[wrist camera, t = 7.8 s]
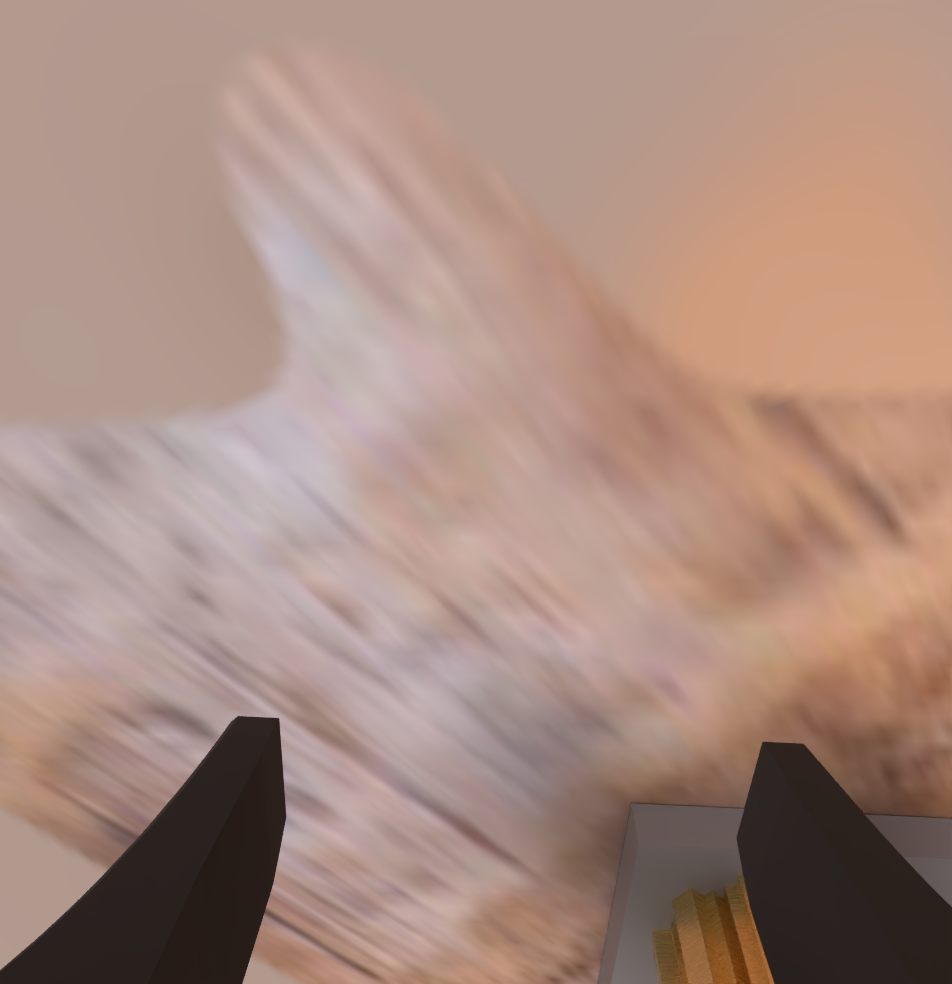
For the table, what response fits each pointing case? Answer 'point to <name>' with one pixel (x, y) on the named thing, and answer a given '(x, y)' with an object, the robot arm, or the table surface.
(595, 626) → the table surface
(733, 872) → the gear board
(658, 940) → the brass gear
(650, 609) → the table surface
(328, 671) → the table surface
